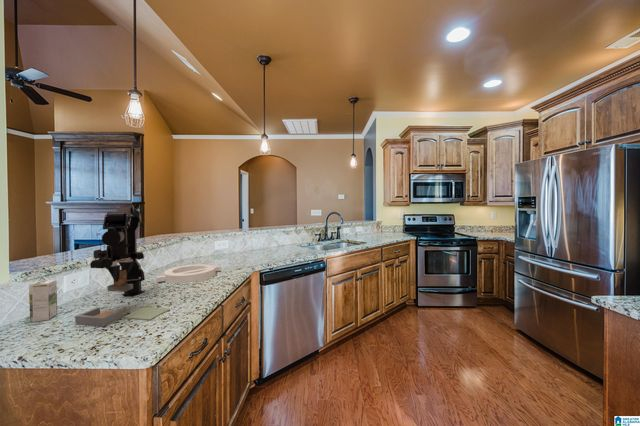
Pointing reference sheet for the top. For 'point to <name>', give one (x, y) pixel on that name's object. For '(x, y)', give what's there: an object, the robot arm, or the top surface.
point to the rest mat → (146, 313)
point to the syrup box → (43, 300)
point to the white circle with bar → (189, 273)
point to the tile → (104, 314)
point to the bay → (98, 318)
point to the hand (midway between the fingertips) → (120, 280)
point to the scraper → (120, 283)
